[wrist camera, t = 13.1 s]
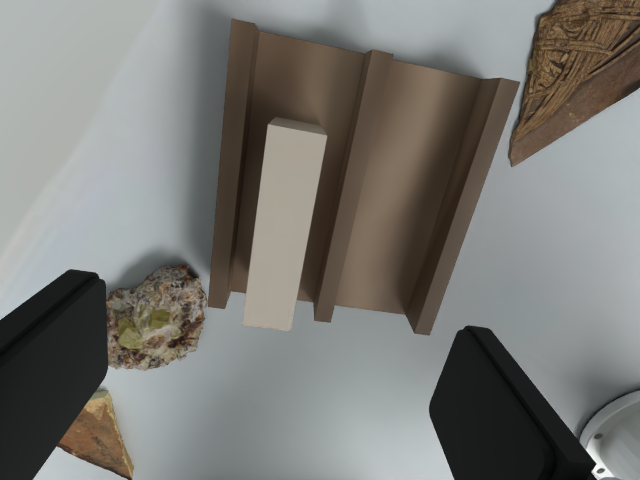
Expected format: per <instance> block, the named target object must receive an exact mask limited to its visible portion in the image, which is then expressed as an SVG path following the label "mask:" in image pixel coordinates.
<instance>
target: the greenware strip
mask: <svg viewBox="0 0 640 480" xmlns="http://www.w3.org/2000/svg"><path fill="white" fill-rule="evenodd" d="M326 140H327V134H326V133H325V131H324V129H323V128H322V126H321V125H317V124H311V123H306V122H301V121H296V120H290V119H285V118H280V117H275V118H274V119H273V120H272V121H271V122H270V123H269V124H268V128H267V136H266V143H265V151H264V159H263V167H262V175H261V182H260V190H259V198H258V206H257V214H256V221H255V229H254V237H253V245H252V253H251V261H250V268H249V276H248V284H247V292H246V300H245V307H244V315H243V323H242V325H245V326H253V327H261V328H269V329H277V330H285V331H291V326H292V321H293V316H294V310H295V305H296V300H297V294H298V289H299V284H300V278H301V273H302V268H303V262H304V257H305V252H306V246H307V241H308V236H309V230H310V225H311V220H312V214H313V209H314V204H315V199H316V193H317V188H318V183H319V177H320V172H321V167H322V161H323V156H324V151H325V145H326Z"/></svg>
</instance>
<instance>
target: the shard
mask: <svg viewBox="0 0 640 480" xmlns="http://www.w3.org/2000/svg"><path fill="white" fill-rule="evenodd" d="M57 447H60V448H62V449H63V450H64V451H66V452H68V453H69V454H72V455H74V456H76V457H78V458H80V459H82V460H85V461H87V462H89V463H92V464H94V465H96V466H99V467H101V468H104V469H106V470H109V471H112V472H114V473H115V474H117V475H120V476H121V477H124V478H126V479H128V480H132V475H133V470H134V466H133V464H132V462H131V459H130V457H129V455H128V453H127V451H126V449H125V446H124V444H123V440H122V437H121V435H120V434H119V431H118V427H117V423H116V416H115V414H114V411H113V406H112V399H111V397H110V396H109V392H108V391H97V392H95V393H94V394H93V395H92V397H91V398H90V400H89V401H88V402H87V404H86V405H85V407H84V408H83V409H82V411H81V412H80V414H79V415H78V417H77V418H76V419H75V421H74V422H73V424H72V425H71V426H70V428H69V429H68V431H67V432H66V433H65V435H64V436H63V438H62V439H61V440H60V442H59V443H58V445H57Z"/></svg>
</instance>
